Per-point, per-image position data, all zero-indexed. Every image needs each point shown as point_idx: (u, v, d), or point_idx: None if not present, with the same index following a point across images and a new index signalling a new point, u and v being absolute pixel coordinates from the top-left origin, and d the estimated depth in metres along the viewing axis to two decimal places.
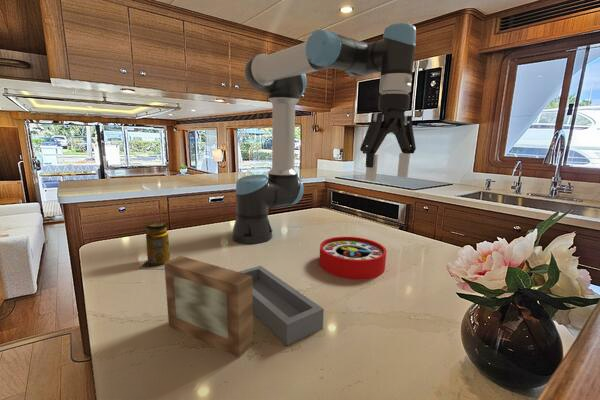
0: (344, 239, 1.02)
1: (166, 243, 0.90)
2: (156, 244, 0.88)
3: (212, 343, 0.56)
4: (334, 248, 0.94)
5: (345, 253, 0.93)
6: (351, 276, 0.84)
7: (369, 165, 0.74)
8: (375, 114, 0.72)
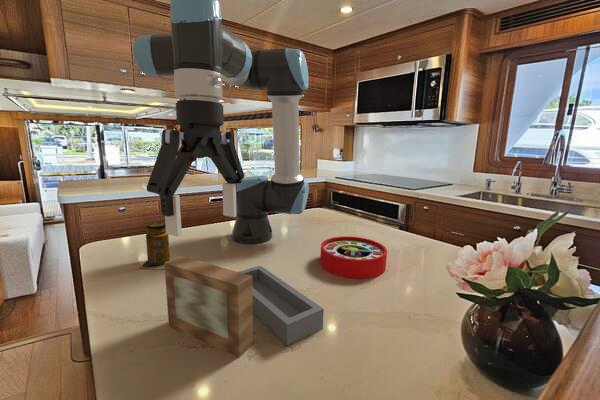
0: (345, 239, 1.02)
1: (166, 243, 0.90)
2: (156, 244, 0.88)
3: (212, 343, 0.56)
4: (335, 248, 0.95)
5: (346, 253, 0.93)
6: (352, 276, 0.84)
7: (166, 213, 0.46)
8: (167, 133, 0.45)
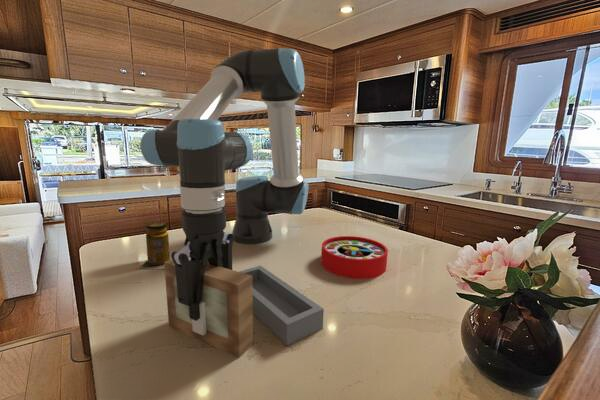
0: (346, 239, 1.02)
1: (166, 243, 0.90)
2: (156, 244, 0.88)
3: (212, 343, 0.56)
4: (336, 247, 0.95)
5: (347, 252, 0.93)
6: (353, 275, 0.84)
7: (194, 318, 0.54)
8: (176, 258, 0.50)
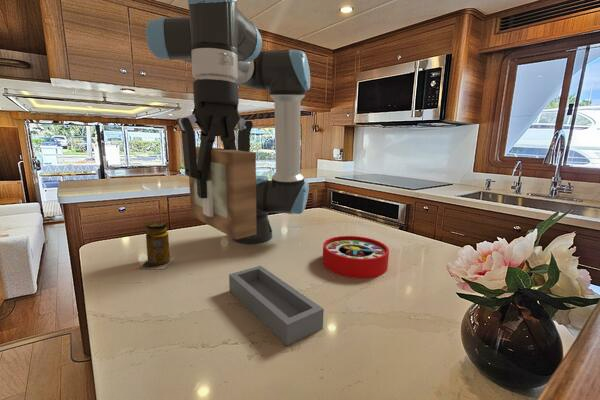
0: (347, 238, 1.02)
1: (166, 243, 0.90)
2: (156, 244, 0.88)
3: (217, 226, 0.54)
4: (337, 247, 0.95)
5: (348, 252, 0.94)
6: (354, 275, 0.85)
7: (200, 195, 0.53)
8: (180, 122, 0.49)
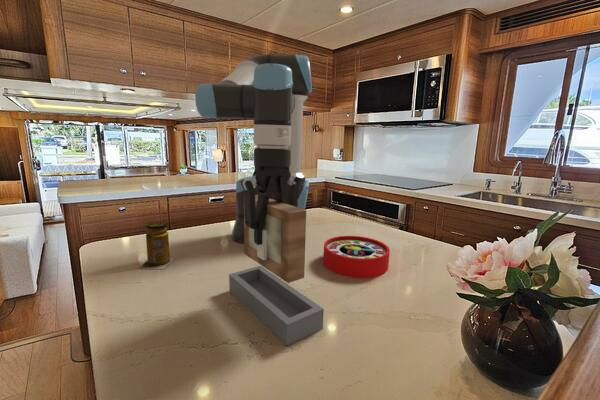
0: (347, 238, 1.02)
1: (166, 243, 0.90)
2: (156, 244, 0.88)
3: (270, 269, 0.63)
4: (338, 247, 0.95)
5: (349, 252, 0.94)
6: (355, 274, 0.85)
7: (257, 242, 0.63)
8: (243, 184, 0.59)
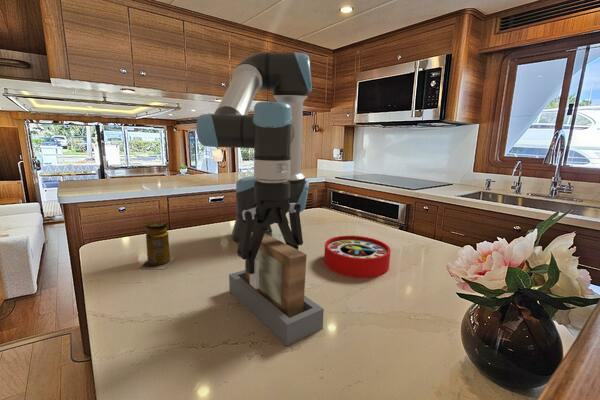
0: (348, 238, 1.03)
1: (166, 243, 0.90)
2: (156, 244, 0.88)
3: None
4: (339, 247, 0.96)
5: (350, 252, 0.94)
6: (356, 274, 0.85)
7: (249, 271, 0.63)
8: (243, 214, 0.60)
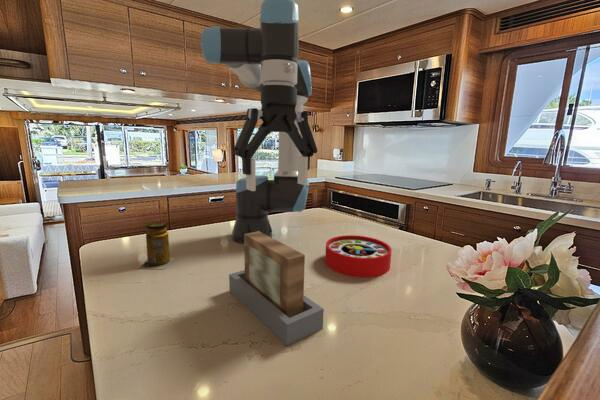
0: (349, 238, 1.03)
1: (166, 243, 0.90)
2: (156, 244, 0.88)
3: None
4: (340, 247, 0.96)
5: (351, 251, 0.94)
6: (358, 274, 0.85)
7: (245, 172, 0.61)
8: (250, 110, 0.60)
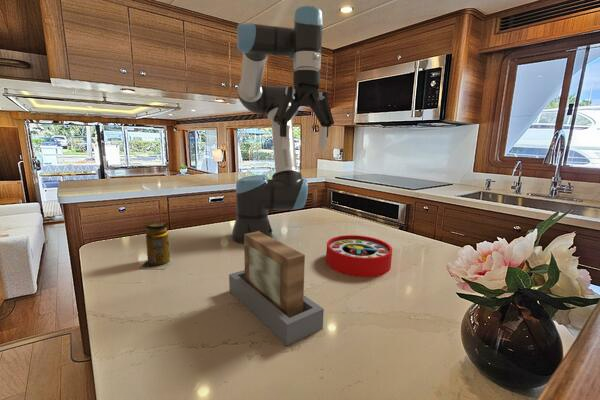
0: (350, 238, 1.03)
1: (166, 243, 0.90)
2: (156, 244, 0.88)
3: None
4: (340, 246, 0.96)
5: (351, 251, 0.94)
6: (359, 274, 0.85)
7: (282, 134, 0.82)
8: (286, 88, 0.80)
